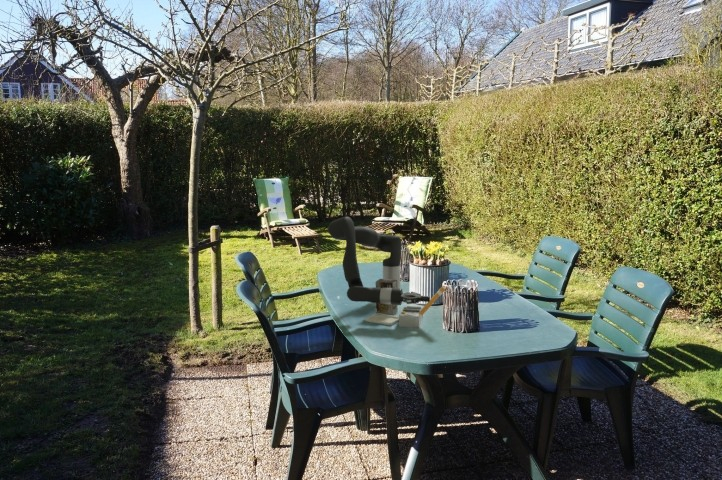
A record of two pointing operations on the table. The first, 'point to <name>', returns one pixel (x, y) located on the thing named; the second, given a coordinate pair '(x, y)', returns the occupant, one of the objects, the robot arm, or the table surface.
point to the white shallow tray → (383, 319)
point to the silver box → (410, 317)
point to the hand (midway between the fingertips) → (429, 299)
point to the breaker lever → (432, 300)
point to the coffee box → (385, 307)
